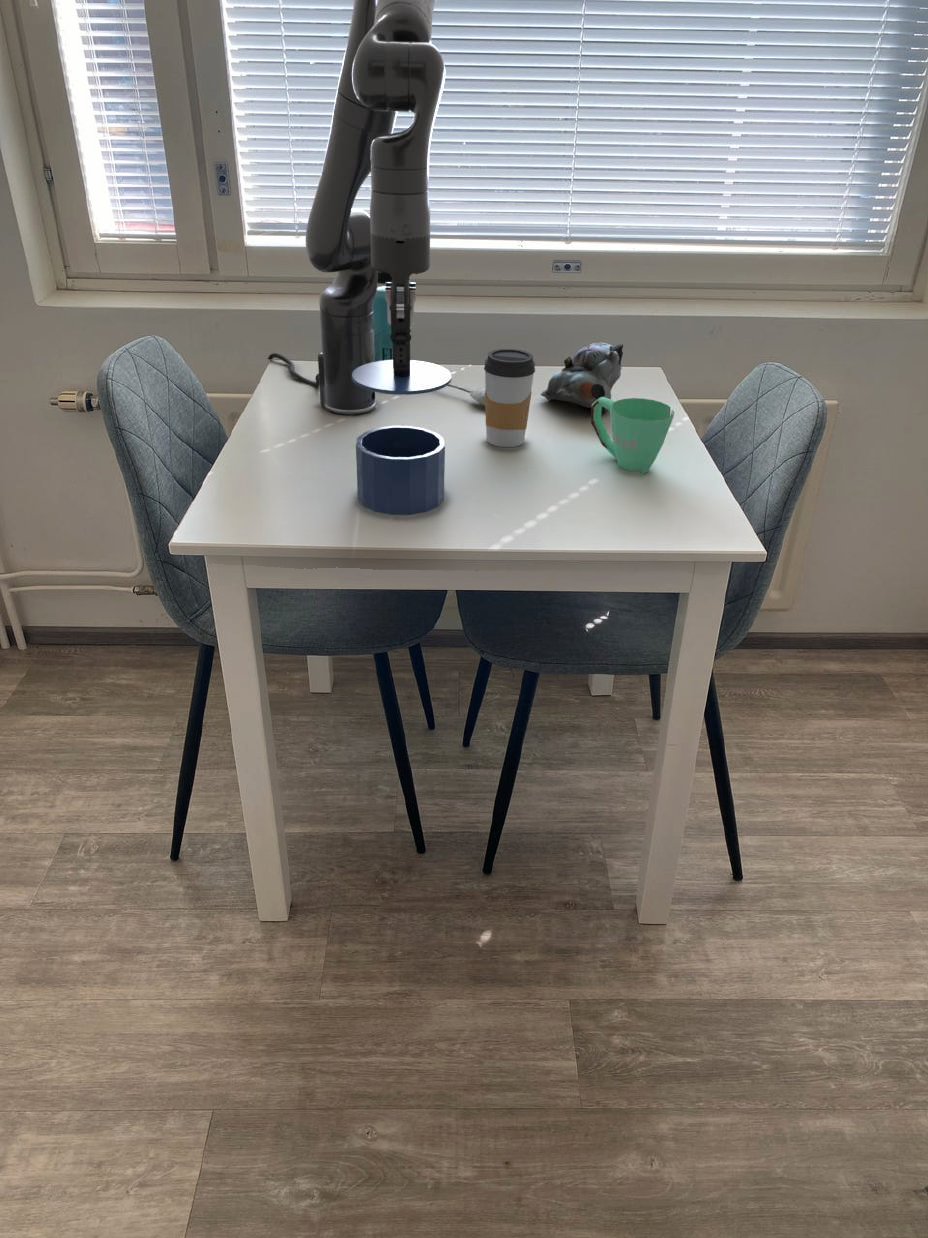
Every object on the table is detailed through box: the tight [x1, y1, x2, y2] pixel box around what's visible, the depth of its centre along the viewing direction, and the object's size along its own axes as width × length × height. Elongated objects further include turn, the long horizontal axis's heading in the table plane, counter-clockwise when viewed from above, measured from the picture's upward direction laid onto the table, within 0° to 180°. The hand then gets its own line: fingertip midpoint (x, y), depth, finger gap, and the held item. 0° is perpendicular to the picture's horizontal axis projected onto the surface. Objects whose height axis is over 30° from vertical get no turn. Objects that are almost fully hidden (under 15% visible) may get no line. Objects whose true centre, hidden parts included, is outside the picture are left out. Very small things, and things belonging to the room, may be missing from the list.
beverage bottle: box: [373, 272, 393, 362], centre depth 176 cm, size 6×7×20 cm
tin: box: [355, 425, 446, 516], centre depth 130 cm, size 13×13×9 cm
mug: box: [590, 397, 675, 475], centre depth 144 cm, size 15×10×10 cm
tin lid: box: [352, 342, 452, 396], centre depth 121 cm, size 14×14×6 cm
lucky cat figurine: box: [540, 342, 624, 415], centre depth 166 cm, size 15×12×14 cm
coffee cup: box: [483, 348, 536, 448], centre depth 148 cm, size 8×8×15 cm
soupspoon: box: [446, 383, 485, 407], centre depth 171 cm, size 22×3×7 cm
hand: (401, 365), depth 122 cm, fingers closed on tin lid, 2 cm apart
